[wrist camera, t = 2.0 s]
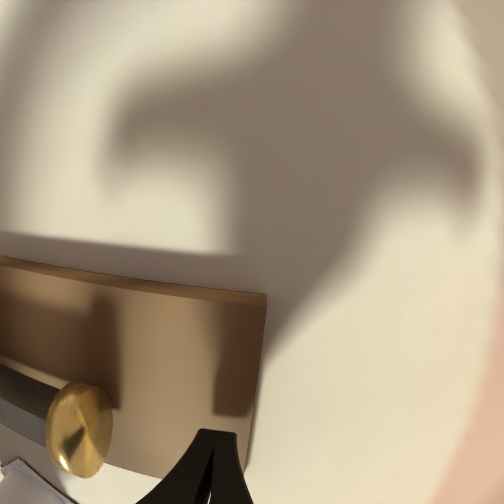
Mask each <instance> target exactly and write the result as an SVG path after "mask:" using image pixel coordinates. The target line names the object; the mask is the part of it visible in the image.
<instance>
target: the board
mask: <svg viewBox="0 0 504 504" xmlns="http://www.w3.org/2000/svg"><path fill="white" fill-rule="evenodd" d="M266 308H267V300H266V294H256V293H247V292H237V291H228V290H219V289H211V288H202V287H194V286H186V285H178V284H170V283H163V282H155V281H148V280H141V279H133V278H127V277H120V276H113V275H106V274H100V273H94V272H87V271H81V270H75V269H69V268H63V267H57V266H51V265H46V264H40V263H34V262H29V261H24V260H18V259H13V258H8V257H3V256H0V363H1V364H3V365H5V366H7V367H9V368H11V369H13V370H16V371H18V372H20V373H22V374H24V375H27V376H29V377H31V378H34V379H36V380H38V381H41V382H43V383H46V384H48V385H51V386H53V387H56V388H59V389H61V388H63V387H64V386H65V385H66V384H68V383H70V382H73V381H78V382H81V383H85V384H88V385H91V386H94V387H98V388H101V389H103V390H104V391H105V392H106V393H107V395H108V396H109V399H110V401H111V405H112V412H113V430H112V438H111V443H110V447H109V451H108V453H107V456H106V459H105V461H104V463H107V464H110V465H113V466H116V467H119V468H123V469H126V470H129V471H133V472H136V473H140V474H144V475H148V476H152V477H156V478H160V479H163V478H164V477H165V476H166V475H167V474H168V473H169V472H170V471H171V470H172V468H173V467H174V466H175V465H176V464H177V462H178V461H179V460H180V458H181V457H182V456H183V454H184V453H185V452H186V450H187V449H188V447H189V446H190V444H191V443H192V441H193V439H194V437H195V436H196V434H197V432H198V430H199V429H201V428H205V429H212V430H219V431H227V432H235V433H236V434H237V449H238V455H239V461H240V465H241V469H242V472H243V476H244V469H245V463H246V456H247V449H248V443H249V436H250V429H251V422H252V415H253V407H254V400H255V393H256V386H257V378H258V371H259V363H260V355H261V348H262V340H263V332H264V324H265V316H266Z"/></svg>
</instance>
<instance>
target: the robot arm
mask: <svg viewBox="0 0 504 504" xmlns="http://www.w3.org/2000/svg"><path fill="white" fill-rule="evenodd" d="M0 474H1V475H2V476H3V477H4V478H3V480H2V481H1V482H0V504H74V503H73V502H71V501H70V500H68V499H67V498H66V497H64V496H63V495H62V494H61V493H59V492H58V491H57V490H55V489H54V488H53V487H52V486H50V485H49V484H48V483H47V482H46V481H44V480H43V479H42V478H41V477H40V476H39V475H37V474H36V473H35V472H34V471H33V470H32V469H31V468H30V467H28V466H27V465H26V464H25V463H24V462H23V461H22V460H20V459H17V460H15V461H13V462H12V463H10V464H8V465H6V466H5V467H3V468H1V469H0ZM210 493H211V497H210V502H209V504H254V503H253V501H252V498H251V496H250V493H249V491H248V488H247V485H246V482H245V479H244V476H243V472H242V469H241V465H240V461H239V455H238V449H237V434H236V433H235V432H227V431H219V430H212V429H205V428H201V429H199V430H198V432H197V434H196V436H195V437H194V439H193V441H192V443H191V444H190V446H189V447H188V449H187V450H186V452H185V453H184V454H183V456H182V457H181V458H180V460H179V461H178V462H177V464H176V465H175V466H174V467H173V468H172V470H171V471H170V472H169V473H168V474H167V475H166V476H165V477H164V478H163V480H162V481H161V482H160V483H159V484H158V485H157V486H156V487H155V488H154V489H152V490H151V491H150V492H149V493H148V494H147V495H146V496H144V497H143V498H142V499H141V500H140V501H138V502H137V503H136V504H207V503H208V500H209V496H210Z"/></svg>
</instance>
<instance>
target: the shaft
mask: <svg viewBox="0 0 504 504" xmlns="http://www.w3.org/2000/svg"><path fill="white" fill-rule="evenodd" d="M0 423H2V424H4V425H5V426H7V427H9V428H11V429H12V430H14V431H16V432H18V433H19V434H21V435H23V436H25V437H27V438H29V439H30V440H32V441H34V442H36V443H38V444H40V445H42V446H44V447H46V449H47V452H48V455H49V457H50V459H51V461H52V462H53V463H54V465H55V466H57V467H58V468H60V469H62V470H64V471H67V472H69V473H71V474H74V475H76V476H78V477H81V478H90V477H92V476H94V475H95V474H96V473H97V472H98V471H99V469H100V468H101V466H102V465H103V463H104V461H105V459H106V456H107V453H108V451H109V447H110V443H111V438H112V430H113V412H112V405H111V401H110V399H109V396H108V395H107V393H106V392H105V391H104V390H103V389H101V388H98V387H94V386H91V385H88V384H85V383H81V382H78V381H73V382H70V383H68V384H66V385H65V386H64V387H63V388H61V389H59V388H56V387H53V386H51V385H48V384H46V383H43V382H41V381H38V380H36V379H34V378H31V377H29V376H27V375H24V374H22V373H20V372H18V371H16V370H13V369H11V368H9V367H7V366H5V365H3V364H1V363H0Z"/></svg>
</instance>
